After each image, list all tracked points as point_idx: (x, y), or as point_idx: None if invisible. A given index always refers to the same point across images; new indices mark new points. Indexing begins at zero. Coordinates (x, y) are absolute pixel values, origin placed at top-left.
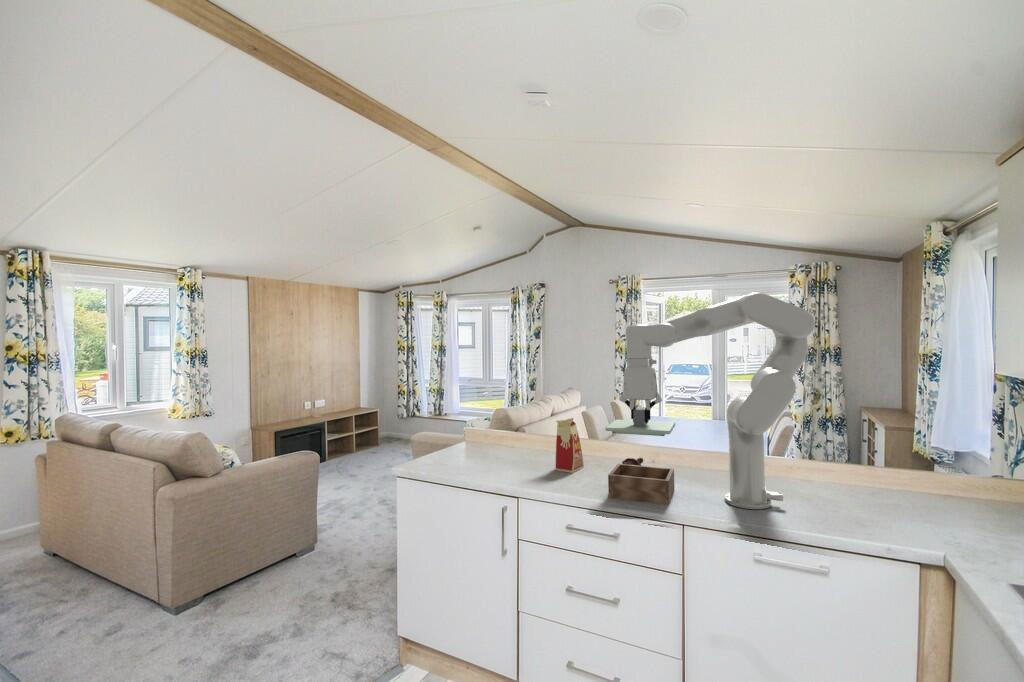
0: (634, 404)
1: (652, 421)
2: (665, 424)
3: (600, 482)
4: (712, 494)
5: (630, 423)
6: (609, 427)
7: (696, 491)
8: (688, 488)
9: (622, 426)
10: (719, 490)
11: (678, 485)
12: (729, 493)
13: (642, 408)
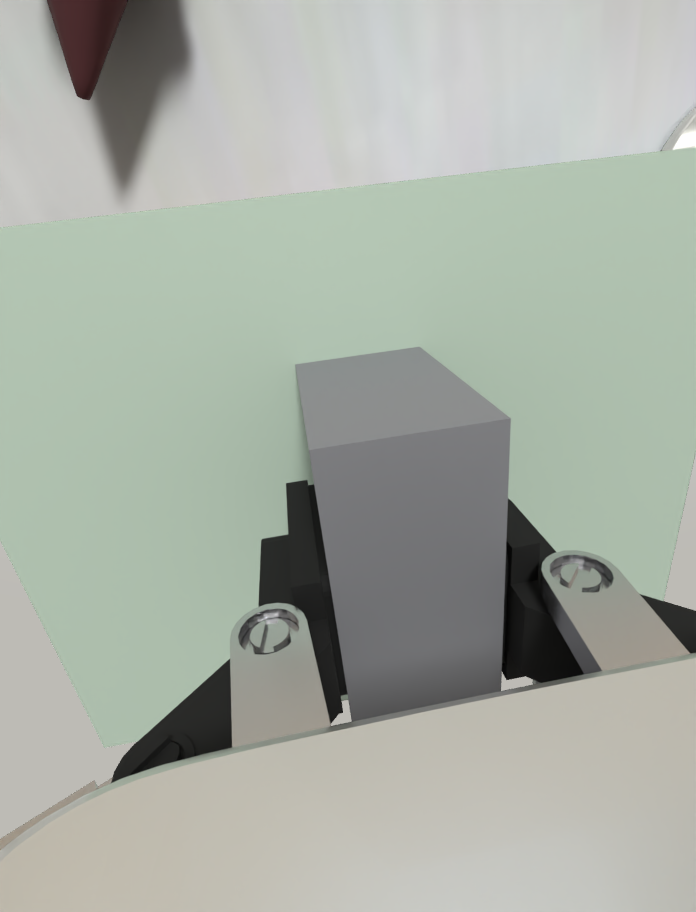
0: (310, 683)
1: (459, 213)
2: (631, 373)
3: (9, 198)
4: (598, 133)
5: (230, 475)
6: (135, 730)
7: (527, 116)
8: (486, 74)
9: (225, 648)
10: (637, 32)
11: (430, 33)
12: (681, 144)
13: (442, 581)
